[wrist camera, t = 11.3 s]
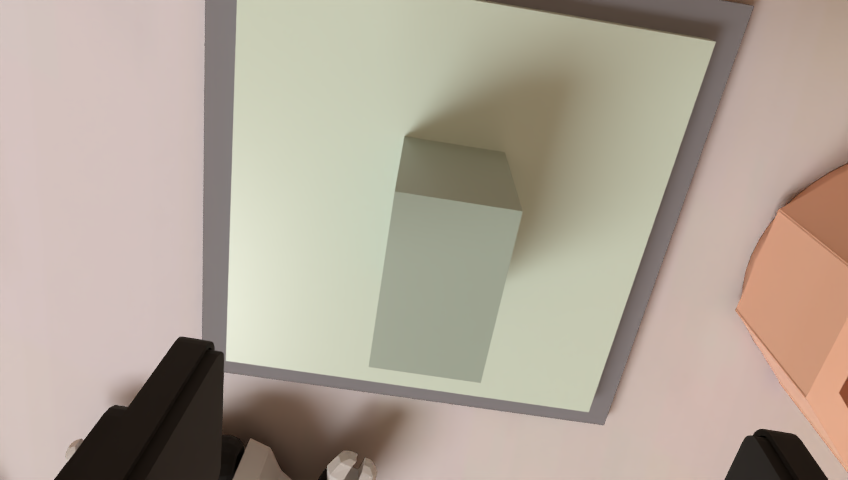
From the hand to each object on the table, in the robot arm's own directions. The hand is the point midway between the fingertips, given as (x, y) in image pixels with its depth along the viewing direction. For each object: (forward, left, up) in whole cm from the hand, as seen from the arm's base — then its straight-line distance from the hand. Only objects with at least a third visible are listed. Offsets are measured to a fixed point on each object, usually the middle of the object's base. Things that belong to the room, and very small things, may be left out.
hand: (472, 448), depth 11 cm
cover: (+1, 0, -10) cm, 10 cm away
